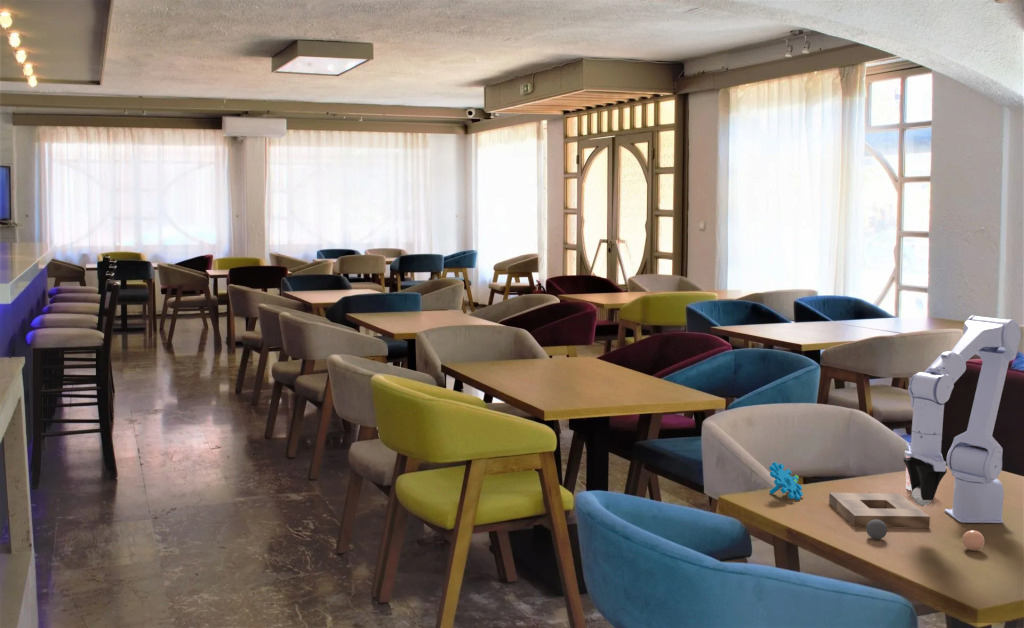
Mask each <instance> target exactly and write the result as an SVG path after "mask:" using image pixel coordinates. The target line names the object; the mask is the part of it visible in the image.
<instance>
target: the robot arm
mask: <svg viewBox="0 0 1024 628" xmlns="http://www.w3.org/2000/svg"><path fill="white" fill-rule="evenodd" d="M962 330H963V331H962V336H961V337H960V339H959V340H958V341H957V343H956V344H955V346H954V347H953V348H952V349H951V351H949V350H948V351H943V352H942V353H941V354H940V355H939V356H938V357H937V358H936V359H935V360H934V361H932V363H931V364H930V365H929V366H928V367H927V368H926V369H925V371H923V372H922V371H920V372H917V373H915V374H913V375H912V377H911V379H910V381H909V385H908V388H907V389H908V391H907V392H908V395H909V397H910V406H911V408H913V409H912V422H911V423H912V424H911V437H910V438H911V440H910V443H905V450H906V451H905V450H904V456H905V457H904V458H903V462H904V464H905V468H906V467H907V469H908V473H909V477H910V482H911V488H912V491H911V493H912V492H913V490H914V489H915V488H916V487H918V486H920V487H921V497H922V499H923V500H932V501H933V500H934V499H935V496H936V493H937V490H938V488H939V484H940V482H941V481H942V479H943V478H944V476H945V475H946V474H947V473H948V470H949V471H951V476H953V477H954V484H953V496H952V499H953V500H952V508H945V509H944V512H945V513H946V514H948V515H949V516H951V517H952V518H953V519H955V520H957V521H958V522H959V523H963V524H965V523H966V524H967V523H971V524H972V523H973V524H977V523H978V524H1003V523H1004V520H1003V508H1004V498H1005V497H1004V495H1005V492H1004V486H1003V484H1002V482H1001V481H1000V479H998V478H999V476H1000V475H1001V472H1002V469H1003V450H1004V449H1003V447H1002V446H1001V444H999V442H998V441H997V440H996V439H995V437H994V436H993V434H994V433H993V432H994V429H995V424H996V420H997V416H998V411H999V407H1000V403H1001V398H1002V393H1003V391H1004V386H1005V381H1006V376H1007V371H1008V368H1009V363H1010V361H1014V360H1015V359H1016V356H1017V353H1018V350H1019V345H1020V340H1021V336H1022V332H1021V328H1020V325H1019V323H1018V322H1017V320H1016V319H1011V318H1010V319H1005V318H998V317H997V318H996V317H986V316H978V315H974V314H972V315H970V316H969V317H968V318H967V319H966V320H965V321H964V324H963V328H962ZM975 355H976V356H979V357H980V359H981V361H982V363H981V369H980V372H979V376H978V381H977V384H976V390H975V393H974V399H973V402H972V407H971V411H970V416H969V420H968V423H967V428H966V431H964V432H962V433H960V434H957V435H956V436H954V437H953V440H952V444H951V446H950V448H949V450H948V452H947V455H946V461H945V460H944V457H943V454H942V440H943V427H944V426H943V425H944V424H943V423H944V411H945V403H946V402H948V401H949V399H950V398H951V394H952V391H953V389H954V387H955V385H954V384H955V383H956V382H957V381H958V380H959V379H960V377H962V376H963V374H964V373H965V372H966V370H967V364H966V363H967V362H968V361H969V360H970V359H971V358H972V357H973V356H975ZM976 447H979V448H976ZM981 448H983V449H981ZM906 456H908V457H910V458H906ZM947 468H948V470H947Z"/></svg>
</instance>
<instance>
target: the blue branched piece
mask: <svg viewBox="0 0 1024 628" xmlns="http://www.w3.org/2000/svg"><path fill="white" fill-rule="evenodd" d="M784 468H785V465H784V464H783V463H778V462H776V461H774V462H772V463H771V465H770V466H769V467H768V469H769V470H770V472H769V476H770V477H771V478H773V479H774V480H773V483H774V487H773V488H771V489H770V490H769V494H770V495H774V494H775V493H776V492H777V491H779V490H780V492H781V494H783V495H784V494H786V493H787V492H788V494H787V497H788V498H789V499H790V500H793V499H794V500H796V501H799V500H800V499H801V497H803V496H804V493H803V491H802V490H803V486H802V485H801V484H799V483H798V482H799V478H800V477H799V475H797V474H795V475H793V476H792V475H791V474H792V473H793V472H792V471H791V470H790V468H787V469H785V470H784Z"/></svg>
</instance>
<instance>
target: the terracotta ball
mask: <svg viewBox="0 0 1024 628" xmlns="http://www.w3.org/2000/svg"><path fill="white" fill-rule="evenodd" d="M961 540H962V544H963V546H964V548H966V549H967V550H969V551H973V552H976V551H980V550H982V548H983V547H984V545H985V537H984V536H983V534H982V533H981V532H980V531H979V530H975V529H972V530H967V531H966V532H965V533H964V534H963V535H962V539H961Z"/></svg>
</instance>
